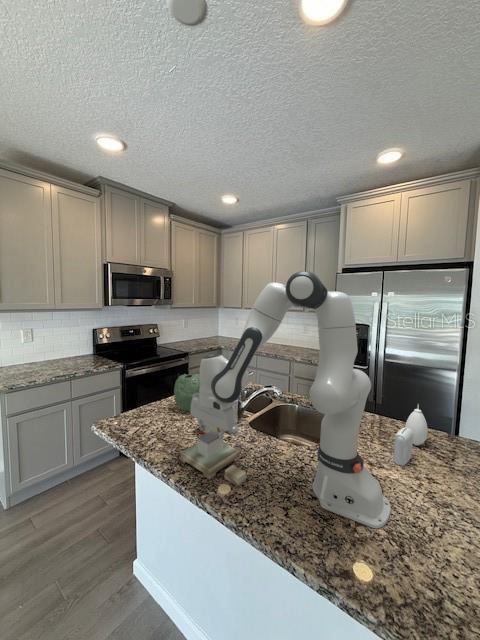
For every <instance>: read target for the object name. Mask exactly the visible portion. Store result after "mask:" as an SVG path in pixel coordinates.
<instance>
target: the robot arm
mask: <svg viewBox="0 0 480 640" xmlns="http://www.w3.org/2000/svg"><path fill="white" fill-rule="evenodd" d="M351 301H352V300H351V299H350V296H349V295H348V294H347V293H344V292H342V291H328V289H327V288H326V286H325V285H324V283H323V281H322V280H321V279H320V278H319V277H318V276H317V274H315V273H313V272H311V271H308V270H301V271H298V272H295V273H294V274H293V273H292V275H290V277H289V278H288V280H287V281H286V284H282V283H280V282H269V283H267V284H266V285H265V287H264V288H263V289H262V291H260V294H259V295H258V297H257V298H256V300H255V302H254V304H253V305H252V307H251V310H250V312H249V314H248V317H247V320H246V322H245V325H244V328H243V330H242V333H241V336H240V339H239V341H238V343H237V345H236V347H235V348H234V351H233V352H232V354H231V355H230V358H229V359H227V358H225V357H224V356H223V355H222V354H220V353H214V354H208V355H205V356H204V357H202V359H201V360H200V364H199V373H198V374H199V379H200V389H199V394H198V393H194V394H193V395H192V401H191V409H190V411H189V412H190V416H191V417H193V418H195V419H197V420H196V421H197V424H198V426H199V431H200V432H201V431H204V430H205V425H204V423H203V421H204V422H206V423H208V424H211V425H213V426H215V427H218V428H219V431H220V433H218V434H217V436H218V437H217V438H218V439H220V440H221V439H223V440H224V434H225V433H226V432H227V431H229V430H231V429H233V427H234V426H235V424H236V415H235V409H234V406H235V402H236V401H237V400H238V399H239V397H240V395H241V394H242V392H243V390H244V389H245V388H246V386H247V385H248V384H249V382H250V372H249V370H248V368H249V366H250V363H251V362H252V360H253V359H254V356H255V355H256V353H257V352H258V351H259V350H260V349H261V348H262V346H264V344H265V343H267V342H268V341H269V340H270V339H271V338H272V337H273V336H274V335H275V333H276V331H277V330H278V328H279V327H280V326H281V324H282V321H283V320H284V317H285V315H286V314H287V312H288V311H289V310H290V309H291V308H292V307H295V308H296V307H297V308H301V309H312V310H314V311H313V312H315V315H316V321H317V332H318V345H319V347H318V348H319V353H318V354H319V356H318V364H317V369H316V374H315V378H314V380H313V383H312V385H311V387H310V389H309V393H308V395H309V400H310V402H311V403H310V404H312V406H313V408H314V409H315V410H317V411H318V412H319V413H320V414H323V415H324V416H323V418H322V420H321V424H320V436H319V438H320V439H319V445H318V448H317V449H318V450H317V461H318V462H317V463H318V464H317V469H316V473H315V477H314V480H313V481H312V482H313V483H312V491H313V493H314V495H315V496H316V498H317V500H318V502H319V505H320V507H321V508H322V509H324V510H327V511H329V512H331V513H334V514H337V515H339V516H341V517H344V518H347V519H349V520H353V521H355V522H357V523H359V524H362V525H365V526H367V527H369V528H373V529H377V530H378V529H381V528H382V527H384V526H385V525H386V524H387V522H388V521H389V519H390V517H391V511H392V510H391V509H392V507H391V503H390V501H389V499H388V498H387V496H385V495H384V494H383V491H382V485H381V484H380V482H379V481H378V480H377V479H376V478H375V477H374V476H373V474H371V473H370V471H368V470H367V469H366V468H365V467H364V462H365V459H366V458H365V457H366V456H365V455H363V456H362V457H361V455H360V454H359V452H358V445H359V431H360V427H361V423H362V419H363V415H364V411H365V407H366V403H367V399H368V396H369V394H370V391H371V390H372V389H371V388H372V382H371V379H370V378H369V376H368V375H367V374H366V372H364V371H362V370H361V369H358V368H354V364H355V360H356V357H357V355H358V350H359V349H358V339H357V338H358V337H357V326H356V318H355V313H354V308H353V305H352V302H351ZM225 431H226V432H225ZM224 432H225V433H224Z"/></svg>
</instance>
